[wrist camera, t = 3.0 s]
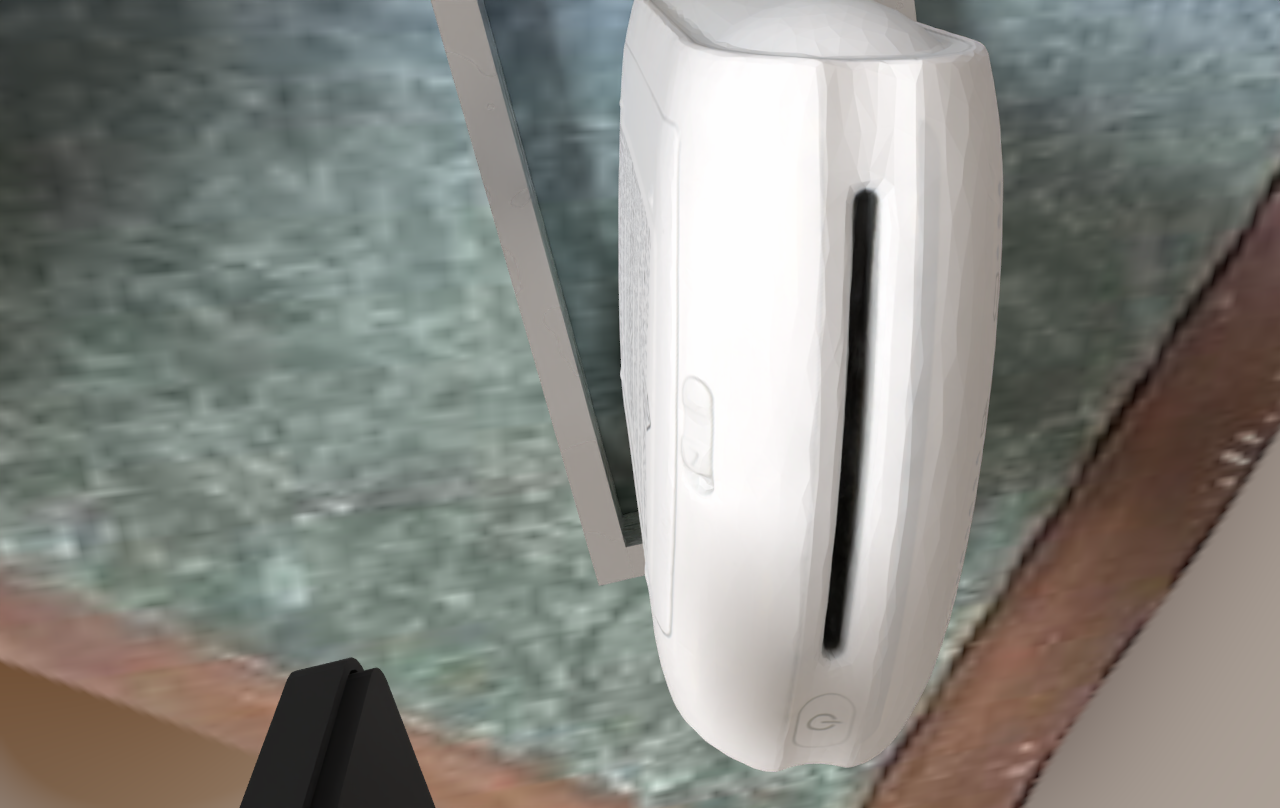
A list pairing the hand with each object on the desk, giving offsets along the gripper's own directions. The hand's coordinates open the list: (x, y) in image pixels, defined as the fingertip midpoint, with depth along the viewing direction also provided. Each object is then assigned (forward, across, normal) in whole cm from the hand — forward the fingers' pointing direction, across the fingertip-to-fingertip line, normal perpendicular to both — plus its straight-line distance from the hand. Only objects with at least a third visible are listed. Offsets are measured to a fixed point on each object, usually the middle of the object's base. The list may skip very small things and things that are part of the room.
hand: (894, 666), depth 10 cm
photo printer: (+15, 0, -1) cm, 15 cm away
